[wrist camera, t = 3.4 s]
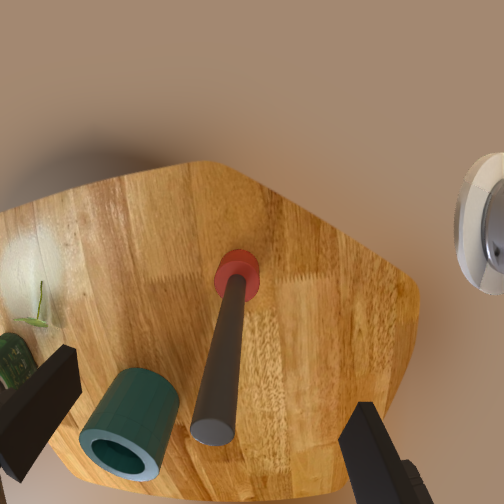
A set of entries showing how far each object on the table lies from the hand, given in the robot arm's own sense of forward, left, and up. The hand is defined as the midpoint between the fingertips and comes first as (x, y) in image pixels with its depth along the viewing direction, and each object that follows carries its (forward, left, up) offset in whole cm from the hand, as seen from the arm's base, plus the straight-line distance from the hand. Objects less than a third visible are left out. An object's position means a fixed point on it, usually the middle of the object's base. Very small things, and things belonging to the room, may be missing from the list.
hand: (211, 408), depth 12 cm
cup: (+10, +22, -22) cm, 33 cm away
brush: (0, 0, -22) cm, 22 cm away
